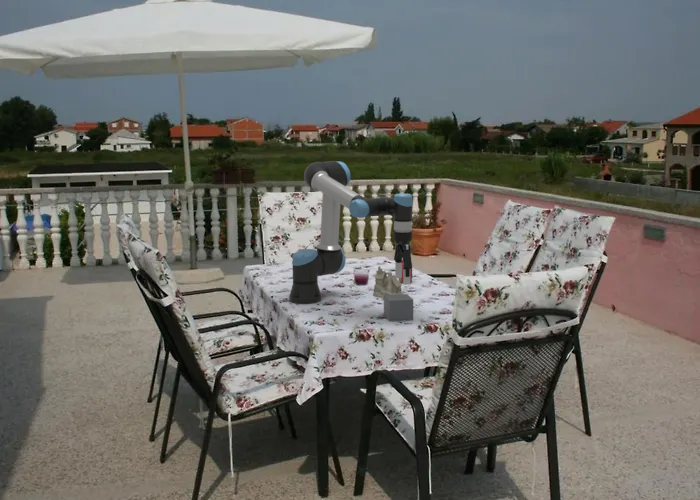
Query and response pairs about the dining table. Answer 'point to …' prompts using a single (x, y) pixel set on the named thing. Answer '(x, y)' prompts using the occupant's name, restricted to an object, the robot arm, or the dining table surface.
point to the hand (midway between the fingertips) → (402, 281)
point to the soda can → (403, 273)
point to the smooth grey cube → (398, 307)
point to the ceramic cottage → (386, 284)
